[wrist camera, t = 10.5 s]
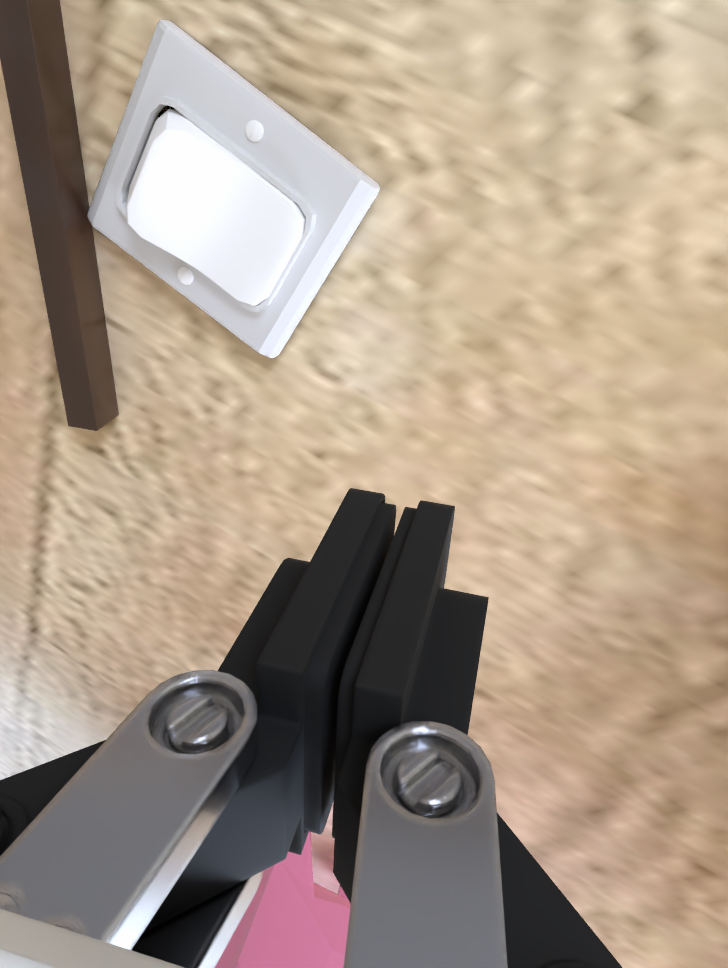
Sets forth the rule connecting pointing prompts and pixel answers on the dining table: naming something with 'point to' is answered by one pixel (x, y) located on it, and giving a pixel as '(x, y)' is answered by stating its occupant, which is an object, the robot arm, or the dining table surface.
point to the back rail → (58, 204)
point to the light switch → (226, 193)
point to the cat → (290, 921)
